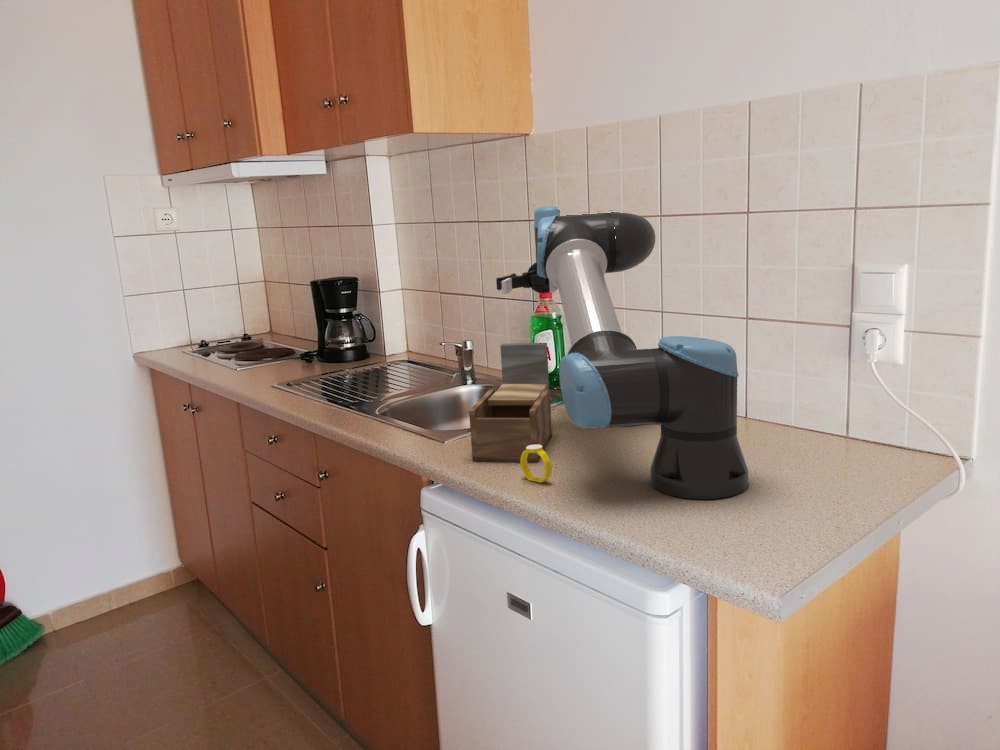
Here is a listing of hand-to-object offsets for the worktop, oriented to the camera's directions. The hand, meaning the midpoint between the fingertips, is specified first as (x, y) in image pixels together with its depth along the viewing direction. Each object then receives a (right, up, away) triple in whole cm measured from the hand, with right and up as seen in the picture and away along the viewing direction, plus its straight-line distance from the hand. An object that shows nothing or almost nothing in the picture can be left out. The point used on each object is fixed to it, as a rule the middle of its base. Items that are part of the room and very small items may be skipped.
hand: (527, 286), depth 164 cm
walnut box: (-3, -32, -14) cm, 35 cm away
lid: (-2, -22, -9) cm, 24 cm away
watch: (0, -36, -32) cm, 49 cm away
